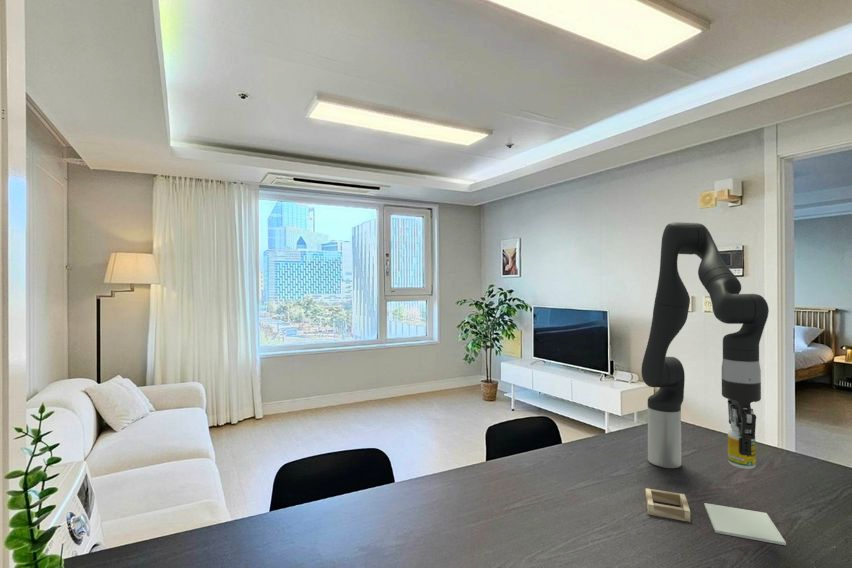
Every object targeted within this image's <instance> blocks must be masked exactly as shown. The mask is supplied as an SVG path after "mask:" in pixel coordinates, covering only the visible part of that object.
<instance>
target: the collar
mask: <svg viewBox="0 0 852 568" xmlns="http://www.w3.org/2000/svg"><path fill="white" fill-rule="evenodd" d="M645 502H646V508H647V514H648V515H651V516H655V517H661V518H667V519H672V520H678V521H684V522H689V523H690V522H691V509H690V506H689V504H688V500H687V498H686V494H685V493H679V492H673V491H672V492H671V491H665V490H659V489H652V488H648V487H647V488H645ZM656 502H658V503H656ZM659 502H660V503H659ZM661 503H662V504H661ZM663 503H665V504H663ZM666 504H667V505H666ZM668 504H669V505H668ZM671 504H672V505H671ZM675 505H677V506H675ZM678 506H679V507H678Z"/></svg>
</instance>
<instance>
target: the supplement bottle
mask: <svg viewBox="0 0 852 568" xmlns="http://www.w3.org/2000/svg"><path fill="white" fill-rule="evenodd" d="M739 424H741V423H739ZM730 425H731V426H730V430H729V431H728V432H727V461H728V463H729V464H730V465H732V466H734V467H736V468H740V469H746V470H748V469H750V470H751V469H754V468H755V467H756V462H757V461H756V453H757V452H756V450H757V449H756V448H757V447H756V445H757V444H756V438H755V439H752V440H751V455H750V456H747V455H741V454H740V453H739V437H738V428H736V427H735V422H731V424H730ZM745 433H748V430H747V429H746V430H745Z"/></svg>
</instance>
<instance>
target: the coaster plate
mask: <svg viewBox="0 0 852 568" xmlns="http://www.w3.org/2000/svg"><path fill="white" fill-rule="evenodd" d="M703 505H704V508H705V511H706V513H707V515H708V518H709V521H710V522H711V526H712V527H713V530H714V532H715V533H716V534H719V535H720V534H722V535H727V536H733V537H737V538H743V539H749V540H752V541H753V540H754V541H760V542H765V543H772V544H775V545H776V544H777V545H780V546H781V545H783V546H786V545H787V542H786V540H785V539H784V537H783V536H782V534H781V533H780V531H779V530H778V528H777V527H776V525H775V523H774V522H773V521H772V519H771V517H770V516H769V514H768V513H767V512H762V511H756V510H751V509H750V510H749V509H743V508H738V507H731V506H725V505H718V504H713V503H706V502H704V503H703Z"/></svg>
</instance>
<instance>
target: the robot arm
mask: <svg viewBox="0 0 852 568" xmlns="http://www.w3.org/2000/svg"><path fill="white" fill-rule="evenodd" d="M661 237H662V238H661V245H660V247H661V248H660V259H659V261H660V262H659V271H658V273H659V274H658V279H657V287H656V292H655V298H654V303H653V311H652V319H651V325H650V331H649V336H648V341H647V345H646V349H645V351H644V355H643V359H642V363H641V377H642V381H643V382H644V384H645V385H646V386H648V387H649V388H659V389H658V390H657V391H656V392H655V393H653V394H652V395H650V396H649V397H648V398H647V460H648V461H647V462H649V463H650V464H652V465H654V466H657V467H660V468H665V469H678V468H680V467H681V466H682V419H681V418H682V410H681V409H682V404H683V402H684V395H685V380H686V379H685V375H686V374H685V369H684V365H683V363H682V362H681V361H680V360H679V358H677V357H675V356H667V351H668V350H669V348H670V345H671V343H672V342H673V340H674V339H675V338H676V337H677V335H678V334H679V333H680V331H681V330H682V329H683V327H684V325H686V322H687V319H688V315H689V309H690V302H691V297H690V295H689V291H688V289H687V288H686V286H685V284H684V281H683V280H682V278H681V275H680V273H679V269H678V258H679V257H678V256H679V255H695V256H697V257H698V258H700V263H699V266H698V269H697V275H698V279H699V280H700V284H702V286H703V287H704V289H705V290H706V291H707V293H708V294H709V298H710V301H711V306H712V311H713V312H712V313H713V315H714V317H715V318H716V319H717V320H718V321H720V322H721V323H723V324H729V325H731V324H732V325H737V324H738V325H741V328H740V329H739V330H738V331H735V332H731V333H728V334H726V335H724V336H723V338H722V363H721V396H722V397H723V398H725V399H727V409H728V410H727V411H728V423H729V425H730V427H731V422H735V427H736V428H738V437H739V453H740V454H741V455H747V456H750V455H751V440H752V439H755V440H756V428H757V427H756V425H757V424H756V423H757V415H756V414H755V413H754V412H755V411H754V409H753V408H752V406H751V403H757V402H760V401H761V400H762V379H761V378H762V371H761V364H760V341H761V339H762V336H763V332H764V329H765V326H766V323H767V320H768V318H769V311H770V310H769V305H768V302H767V300H766V299H765V298H764V297H763V296H762V295H760V294H757V293H741V290H742V283H741V282H740V280H739V279H738V277H737V276H736V275H735V274H734V272H733V271H732V270H731V269H730V268H729V266H728V265H727V264H726V263H725V261H724V260H723V258H722V256H721V254H720V251H719V249H718V247H717V245H716V243H715V240H714V239H713V236H712V234H711V232H710V231H709V229H708V228H707V227H706V226H705V225H704V224H703V223H699V222H681V221H680V222H679V221H675V222H674V221H672V222H669V223H667V225H666V226H665V227H664V230H663V232H662V236H661ZM739 423H741V424H739ZM746 429H747V430H748V433H745V430H746Z"/></svg>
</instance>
